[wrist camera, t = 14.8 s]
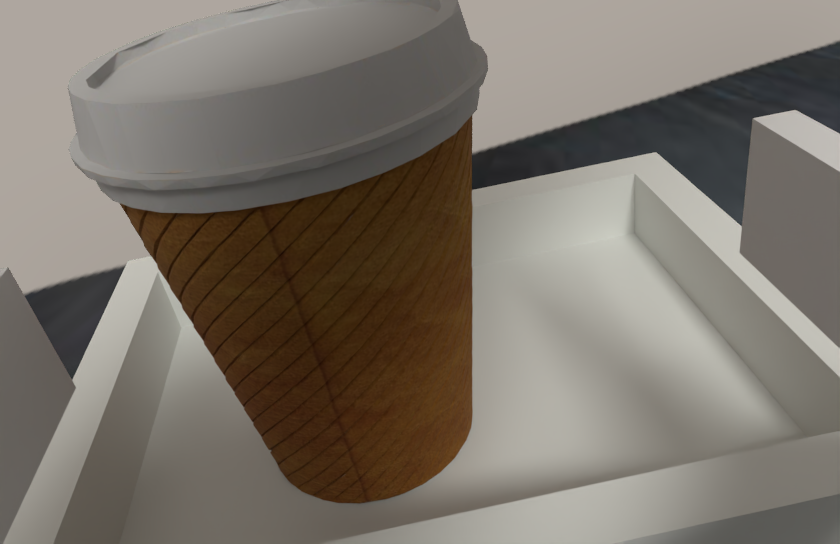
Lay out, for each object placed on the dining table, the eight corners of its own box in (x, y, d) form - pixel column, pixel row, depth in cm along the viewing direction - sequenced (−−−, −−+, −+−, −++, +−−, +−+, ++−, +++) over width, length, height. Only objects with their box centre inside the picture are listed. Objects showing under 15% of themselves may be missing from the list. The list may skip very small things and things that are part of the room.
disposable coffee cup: (324, 314, 27) (231, -4, 21) (562, 351, 23) (537, -33, 17) (157, 505, 20) (-59, 113, 14) (455, 606, 16) (341, 114, 10)
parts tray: (654, 226, 30) (655, 152, 28) (963, 562, 16) (1006, 457, 14) (159, 329, 30) (128, 260, 28) (10, 775, 15) (-75, 694, 13)
